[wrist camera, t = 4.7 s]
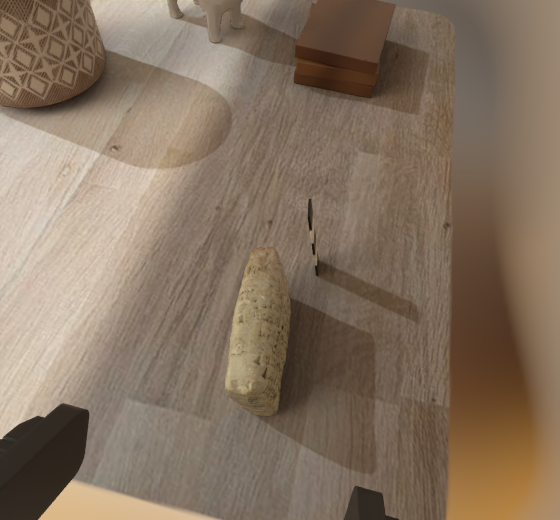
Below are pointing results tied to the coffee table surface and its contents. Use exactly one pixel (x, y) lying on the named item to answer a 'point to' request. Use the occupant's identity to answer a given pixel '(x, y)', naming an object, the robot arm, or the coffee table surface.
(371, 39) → the slab pile
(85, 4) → the planter
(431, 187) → the coffee table surface
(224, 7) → the dog figurine
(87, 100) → the coffee table surface
